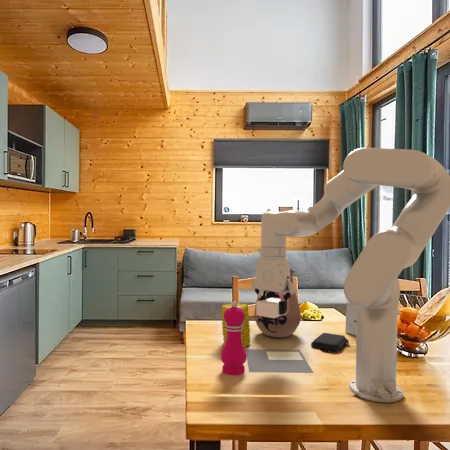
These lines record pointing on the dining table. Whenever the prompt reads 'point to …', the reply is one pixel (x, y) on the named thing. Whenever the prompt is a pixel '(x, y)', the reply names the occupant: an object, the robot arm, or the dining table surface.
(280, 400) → the dining table surface
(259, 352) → the mat
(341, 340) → the carrying case or bag
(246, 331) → the food
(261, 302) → the box
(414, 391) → the dining table surface
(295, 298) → the ceramic pitcher
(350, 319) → the skincare box
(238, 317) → the pepper mill
